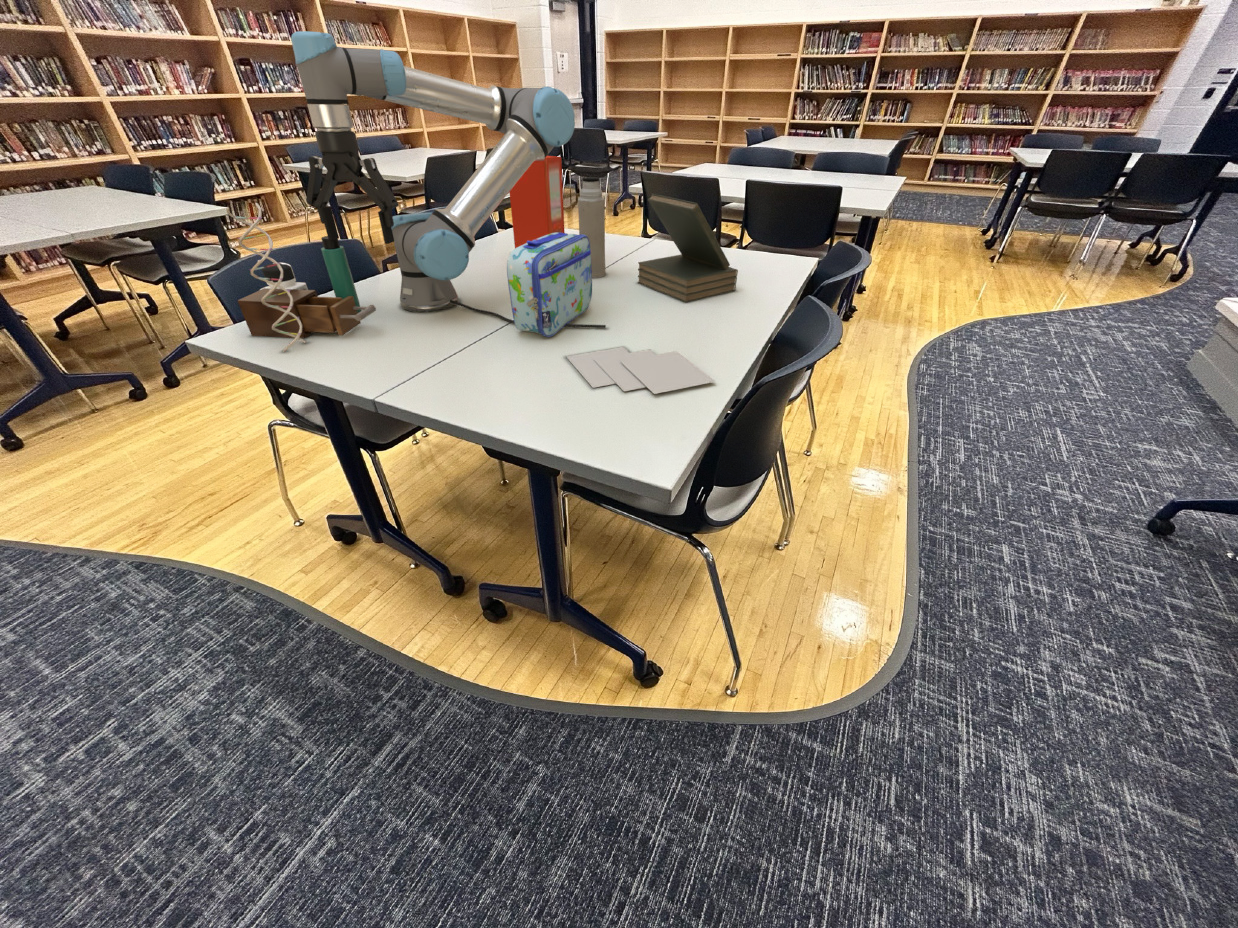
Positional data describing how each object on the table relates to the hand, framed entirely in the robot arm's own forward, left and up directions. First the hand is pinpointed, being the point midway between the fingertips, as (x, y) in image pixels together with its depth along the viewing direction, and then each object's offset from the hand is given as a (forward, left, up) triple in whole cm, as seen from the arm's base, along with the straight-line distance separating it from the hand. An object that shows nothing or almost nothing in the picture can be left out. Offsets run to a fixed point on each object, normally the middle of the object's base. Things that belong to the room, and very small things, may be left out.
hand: (361, 241), depth 119 cm
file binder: (-23, -71, -21) cm, 77 cm away
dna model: (+15, +13, -21) cm, 29 cm away
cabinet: (+23, +3, -21) cm, 31 cm away
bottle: (+15, -11, -21) cm, 28 cm away
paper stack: (-64, +16, -21) cm, 69 cm away
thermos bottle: (-44, -55, -21) cm, 73 cm away
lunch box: (-41, -10, -21) cm, 47 cm away
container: (+29, -7, -21) cm, 36 cm away
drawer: (+10, +3, -20) cm, 23 cm away
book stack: (-74, -45, -21) cm, 89 cm away
